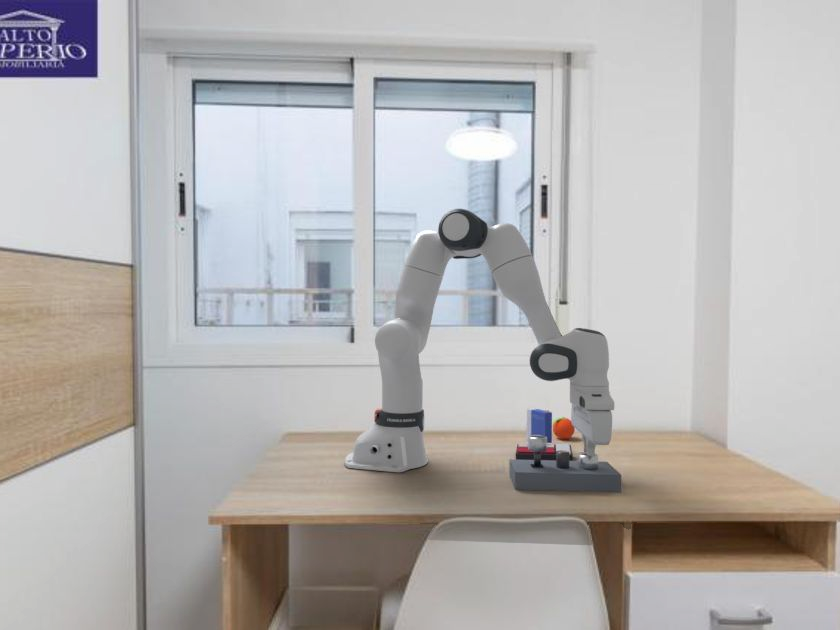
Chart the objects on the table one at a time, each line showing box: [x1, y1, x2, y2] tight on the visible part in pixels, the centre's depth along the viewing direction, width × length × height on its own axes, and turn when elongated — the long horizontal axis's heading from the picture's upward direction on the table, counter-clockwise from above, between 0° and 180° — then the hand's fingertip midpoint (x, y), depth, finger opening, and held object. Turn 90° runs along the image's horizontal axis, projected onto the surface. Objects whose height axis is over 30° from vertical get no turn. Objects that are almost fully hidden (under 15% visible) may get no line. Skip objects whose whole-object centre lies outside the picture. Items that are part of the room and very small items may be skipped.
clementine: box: [552, 417, 576, 440], centre depth 158 cm, size 8×7×7 cm
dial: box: [556, 450, 569, 469], centre depth 116 cm, size 3×3×4 cm
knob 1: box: [528, 435, 547, 467], centre depth 116 cm, size 4×4×7 cm
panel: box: [509, 459, 622, 493], centre depth 116 cm, size 24×10×4 cm, turn 87°
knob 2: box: [578, 451, 599, 470], centre depth 116 cm, size 4×4×7 cm
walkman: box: [526, 407, 553, 443], centre depth 146 cm, size 8×3×12 cm, turn 31°
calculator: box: [515, 441, 574, 461], centre depth 135 cm, size 11×4×15 cm
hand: (589, 454), depth 116 cm, fingers closed, pressing on knob 2
